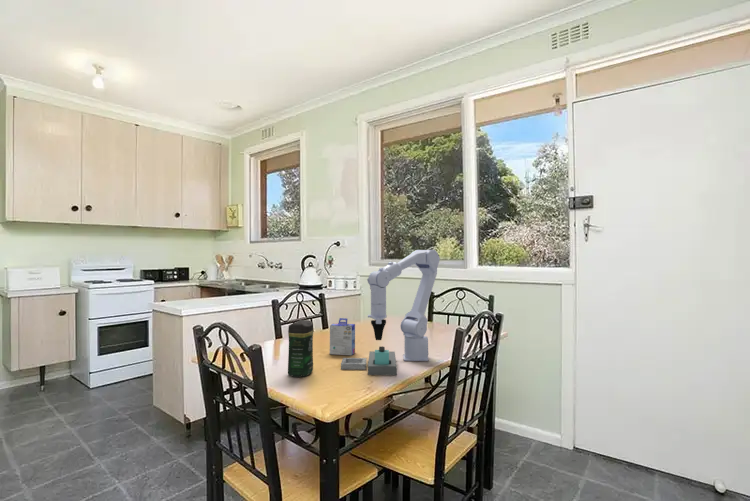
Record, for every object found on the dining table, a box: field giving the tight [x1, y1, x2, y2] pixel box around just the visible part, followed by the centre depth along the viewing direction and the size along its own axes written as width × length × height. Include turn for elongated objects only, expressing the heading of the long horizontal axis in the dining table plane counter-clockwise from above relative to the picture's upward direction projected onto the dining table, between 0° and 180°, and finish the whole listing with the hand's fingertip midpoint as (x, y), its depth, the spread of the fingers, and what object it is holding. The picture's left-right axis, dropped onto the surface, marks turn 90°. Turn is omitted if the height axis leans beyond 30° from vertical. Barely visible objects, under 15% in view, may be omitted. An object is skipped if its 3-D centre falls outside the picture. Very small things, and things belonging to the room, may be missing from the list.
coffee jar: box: [287, 319, 314, 378], centre depth 141 cm, size 10×8×19 cm
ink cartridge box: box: [329, 317, 356, 356], centre depth 168 cm, size 10×6×14 cm, turn 78°
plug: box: [374, 346, 390, 364], centre depth 144 cm, size 5×4×8 cm
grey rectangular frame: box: [340, 357, 367, 371], centre depth 150 cm, size 9×8×2 cm
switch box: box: [367, 350, 398, 376], centre depth 149 cm, size 10×20×3 cm, turn 179°
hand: (378, 339), depth 150 cm, fingers closed
